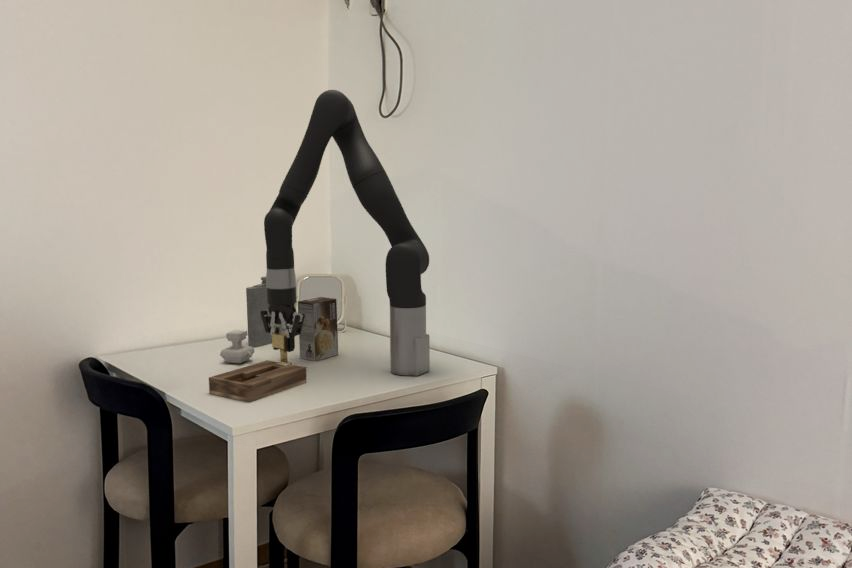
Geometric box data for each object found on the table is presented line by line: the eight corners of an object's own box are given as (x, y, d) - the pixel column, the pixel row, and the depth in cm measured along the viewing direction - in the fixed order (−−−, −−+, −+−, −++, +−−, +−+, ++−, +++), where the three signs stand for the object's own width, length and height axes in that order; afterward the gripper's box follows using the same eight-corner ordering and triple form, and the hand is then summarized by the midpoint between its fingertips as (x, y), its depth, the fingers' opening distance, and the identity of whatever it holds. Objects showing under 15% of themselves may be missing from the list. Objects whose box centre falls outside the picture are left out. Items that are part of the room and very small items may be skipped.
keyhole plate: (306, 382, 186) (306, 366, 186) (249, 402, 171) (248, 384, 170) (267, 374, 193) (267, 359, 193) (209, 393, 178) (208, 376, 177)
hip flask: (279, 336, 238) (277, 272, 235) (290, 337, 237) (288, 273, 234) (246, 347, 224) (243, 279, 221) (257, 348, 223) (254, 280, 220)
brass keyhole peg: (296, 366, 201) (295, 332, 200) (284, 369, 197) (283, 335, 196) (283, 364, 203) (282, 331, 202) (272, 367, 200) (270, 334, 198)
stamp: (216, 363, 205) (215, 333, 204) (230, 357, 211) (229, 328, 210) (245, 366, 202) (244, 335, 201) (258, 360, 208) (257, 330, 207)
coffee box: (322, 351, 218) (321, 296, 215) (338, 355, 214) (337, 298, 211) (298, 358, 210) (297, 300, 208) (315, 361, 207) (313, 303, 204)
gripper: (311, 285, 196) (313, 350, 199) (271, 281, 204) (273, 344, 207) (291, 289, 190) (294, 356, 193) (250, 285, 198) (253, 349, 200)
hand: (283, 349), depth 200 cm, fingers closed on brass keyhole peg, 4 cm apart
